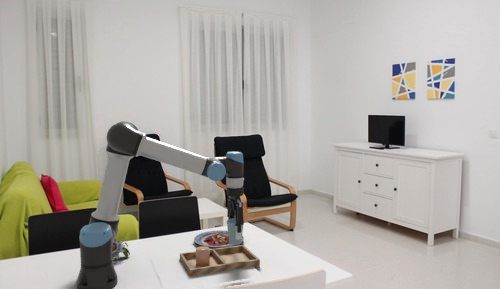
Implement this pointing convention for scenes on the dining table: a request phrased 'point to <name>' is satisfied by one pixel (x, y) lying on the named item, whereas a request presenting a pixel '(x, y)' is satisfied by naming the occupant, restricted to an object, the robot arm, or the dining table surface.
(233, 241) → the cup
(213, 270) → the divided wooden tray
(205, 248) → the tan rounded piece
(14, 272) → the dining table surface
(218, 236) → the ceramic plate
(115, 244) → the passion flower
